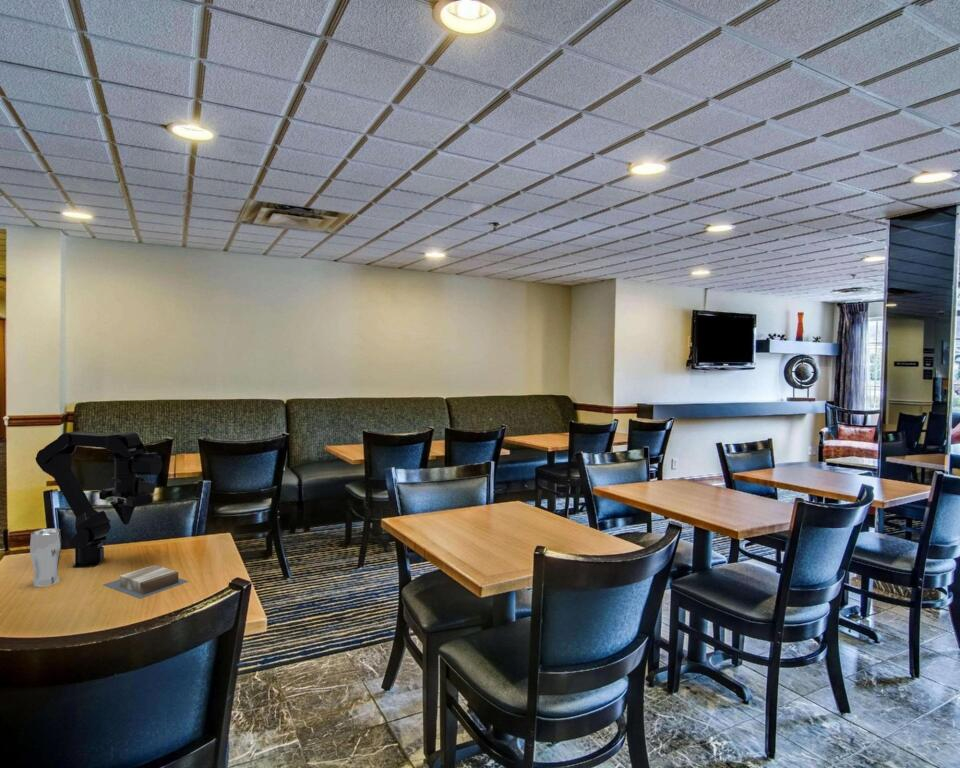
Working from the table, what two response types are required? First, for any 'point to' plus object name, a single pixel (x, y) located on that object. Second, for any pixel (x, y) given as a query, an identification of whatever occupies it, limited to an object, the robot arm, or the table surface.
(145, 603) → the table surface
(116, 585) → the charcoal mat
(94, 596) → the table surface
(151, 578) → the grey-brown flat block
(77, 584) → the table surface
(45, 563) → the beer glass
